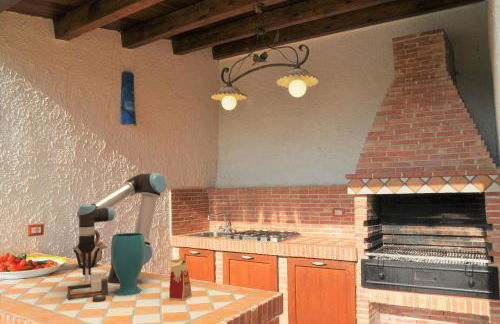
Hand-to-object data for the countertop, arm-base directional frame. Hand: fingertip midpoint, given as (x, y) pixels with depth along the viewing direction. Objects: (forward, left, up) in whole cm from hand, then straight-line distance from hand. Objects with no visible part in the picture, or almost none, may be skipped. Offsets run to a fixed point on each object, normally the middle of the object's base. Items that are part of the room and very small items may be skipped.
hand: (86, 281), depth 228 cm
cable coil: (-5, +12, -7) cm, 15 cm away
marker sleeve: (-4, 0, -5) cm, 6 cm away
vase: (-21, +2, -8) cm, 22 cm away
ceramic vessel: (-11, -84, -8) cm, 85 cm away
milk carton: (-41, +27, -8) cm, 49 cm away
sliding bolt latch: (-1, 0, -7) cm, 7 cm away
